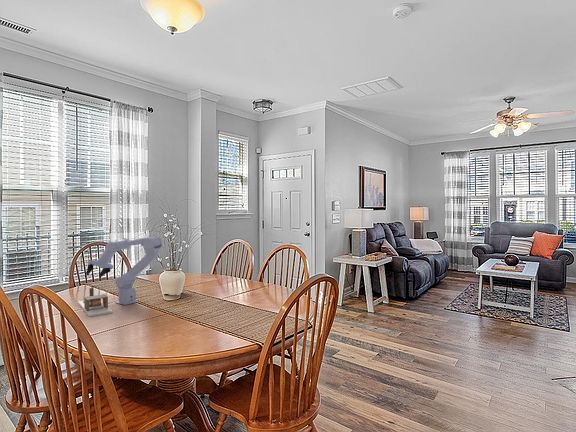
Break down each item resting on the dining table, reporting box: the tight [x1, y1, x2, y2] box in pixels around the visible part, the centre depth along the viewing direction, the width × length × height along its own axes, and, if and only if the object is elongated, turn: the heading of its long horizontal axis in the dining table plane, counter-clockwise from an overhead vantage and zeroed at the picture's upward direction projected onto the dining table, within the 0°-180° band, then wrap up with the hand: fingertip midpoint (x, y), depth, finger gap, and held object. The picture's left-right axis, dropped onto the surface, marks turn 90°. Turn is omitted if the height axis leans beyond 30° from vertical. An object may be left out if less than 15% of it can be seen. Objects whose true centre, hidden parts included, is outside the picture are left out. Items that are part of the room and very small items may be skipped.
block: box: [91, 299, 102, 307], centre depth 193 cm, size 4×4×4 cm
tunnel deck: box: [77, 293, 113, 318], centre depth 197 cm, size 32×11×7 cm, turn 39°
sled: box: [88, 287, 104, 310], centre depth 197 cm, size 16×6×8 cm, turn 39°
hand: (93, 275), depth 212 cm, fingers open, 7 cm apart
